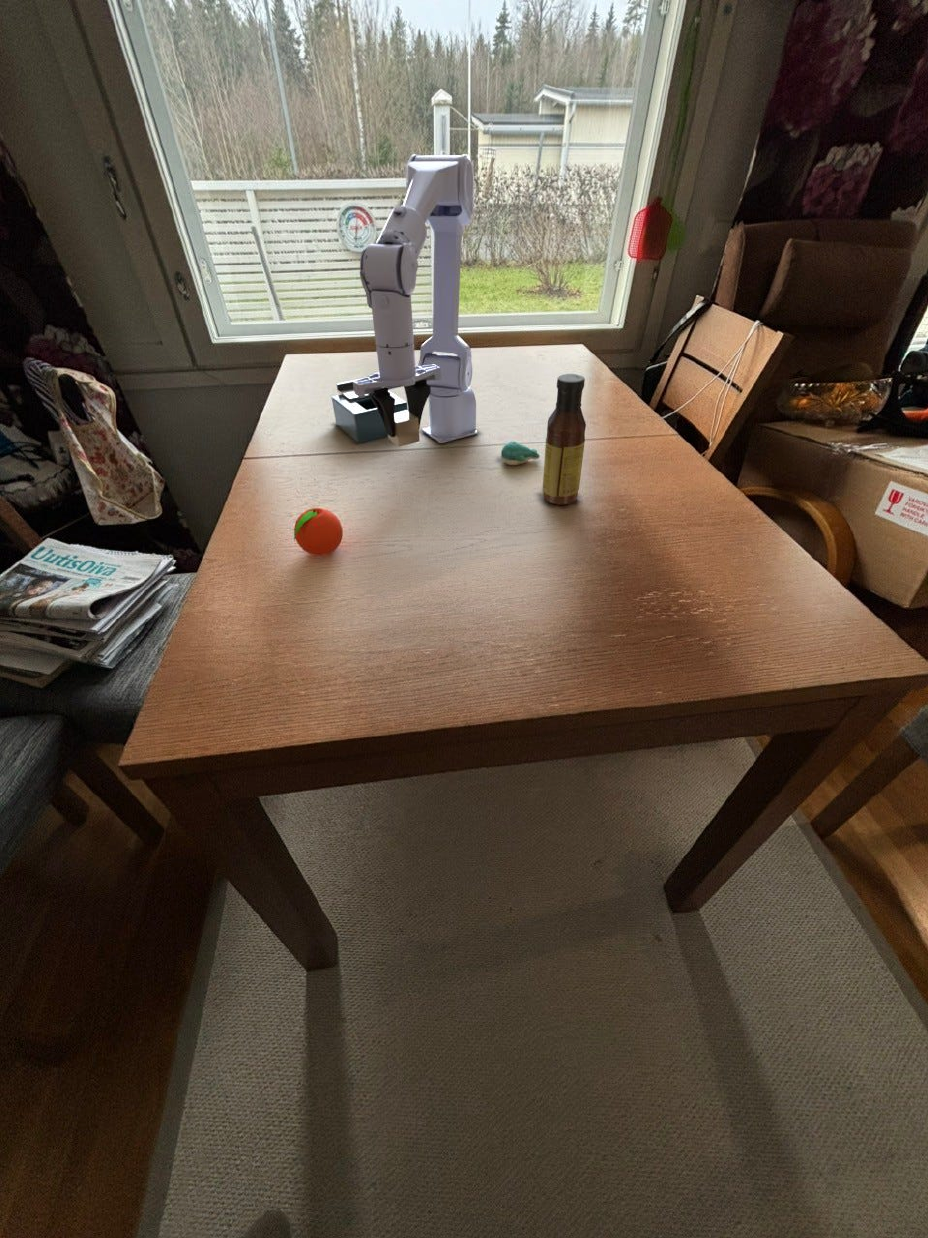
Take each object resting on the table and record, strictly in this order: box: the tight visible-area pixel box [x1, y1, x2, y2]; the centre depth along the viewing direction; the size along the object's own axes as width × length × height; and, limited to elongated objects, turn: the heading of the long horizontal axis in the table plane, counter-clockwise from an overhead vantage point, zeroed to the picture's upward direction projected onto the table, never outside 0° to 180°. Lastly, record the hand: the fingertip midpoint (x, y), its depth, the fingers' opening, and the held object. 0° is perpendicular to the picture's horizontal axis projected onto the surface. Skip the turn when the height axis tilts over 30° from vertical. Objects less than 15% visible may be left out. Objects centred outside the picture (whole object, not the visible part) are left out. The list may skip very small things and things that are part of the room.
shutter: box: [335, 378, 370, 401], centre depth 109 cm, size 8×7×2 cm
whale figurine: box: [500, 441, 540, 466], centre depth 97 cm, size 6×7×4 cm
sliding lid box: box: [331, 389, 408, 444], centre depth 109 cm, size 12×12×6 cm
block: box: [387, 409, 421, 448], centre depth 84 cm, size 4×4×4 cm
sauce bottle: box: [541, 373, 587, 506], centre depth 81 cm, size 7×6×20 cm
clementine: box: [293, 507, 344, 557], centre depth 74 cm, size 8×7×7 cm
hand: (402, 431), depth 85 cm, fingers closed on block, 4 cm apart
